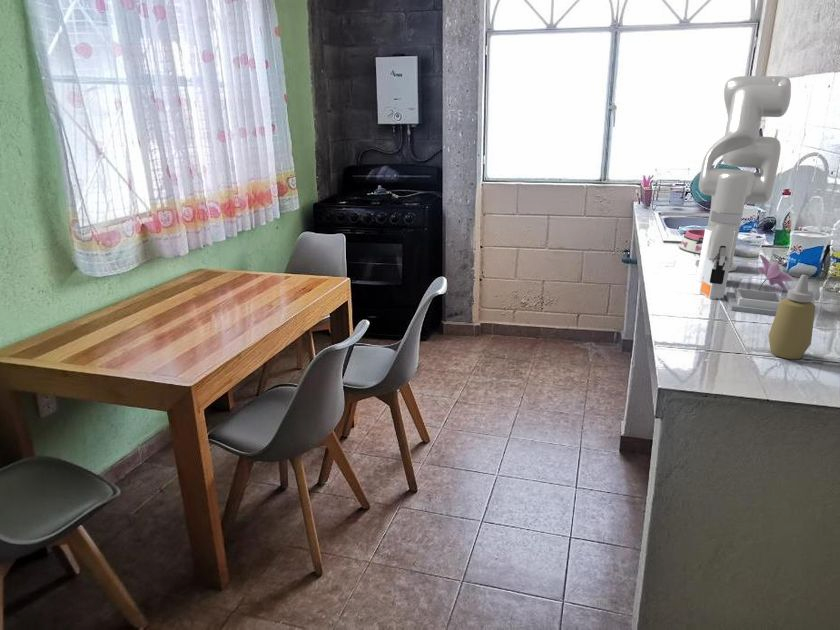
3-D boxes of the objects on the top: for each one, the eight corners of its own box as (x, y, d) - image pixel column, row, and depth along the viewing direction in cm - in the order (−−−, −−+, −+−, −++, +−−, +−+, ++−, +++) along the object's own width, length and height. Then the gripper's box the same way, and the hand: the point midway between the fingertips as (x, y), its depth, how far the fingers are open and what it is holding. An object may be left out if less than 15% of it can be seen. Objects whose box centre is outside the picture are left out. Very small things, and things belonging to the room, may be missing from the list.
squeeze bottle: (756, 347, 136) (774, 270, 130) (790, 347, 137) (809, 270, 131) (779, 362, 128) (799, 280, 122) (815, 362, 129) (837, 280, 123)
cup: (719, 278, 191) (729, 228, 186) (729, 285, 183) (739, 233, 178) (692, 277, 192) (701, 226, 186) (701, 284, 184) (710, 232, 179)
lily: (790, 301, 173) (807, 271, 173) (752, 282, 174) (769, 252, 174) (771, 301, 185) (786, 273, 185) (735, 283, 186) (751, 255, 186)
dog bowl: (734, 249, 232) (738, 231, 229) (730, 259, 217) (733, 240, 214) (683, 243, 240) (686, 226, 238) (675, 252, 225) (678, 234, 223)
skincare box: (698, 292, 175) (706, 252, 171) (712, 292, 176) (720, 252, 172) (709, 299, 170) (717, 257, 166) (724, 299, 170) (732, 257, 166)
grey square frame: (725, 295, 173) (727, 285, 172) (781, 302, 169) (783, 291, 168) (731, 310, 161) (733, 299, 160) (790, 317, 156) (793, 306, 155)
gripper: (708, 213, 174) (698, 270, 180) (713, 222, 159) (701, 285, 164) (737, 215, 172) (725, 273, 177) (745, 224, 156) (732, 288, 162)
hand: (714, 279), depth 171 cm, fingers open, 9 cm apart
